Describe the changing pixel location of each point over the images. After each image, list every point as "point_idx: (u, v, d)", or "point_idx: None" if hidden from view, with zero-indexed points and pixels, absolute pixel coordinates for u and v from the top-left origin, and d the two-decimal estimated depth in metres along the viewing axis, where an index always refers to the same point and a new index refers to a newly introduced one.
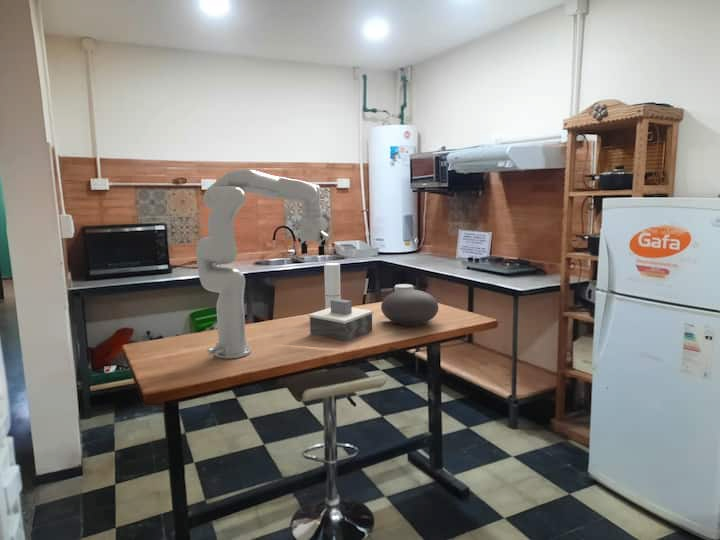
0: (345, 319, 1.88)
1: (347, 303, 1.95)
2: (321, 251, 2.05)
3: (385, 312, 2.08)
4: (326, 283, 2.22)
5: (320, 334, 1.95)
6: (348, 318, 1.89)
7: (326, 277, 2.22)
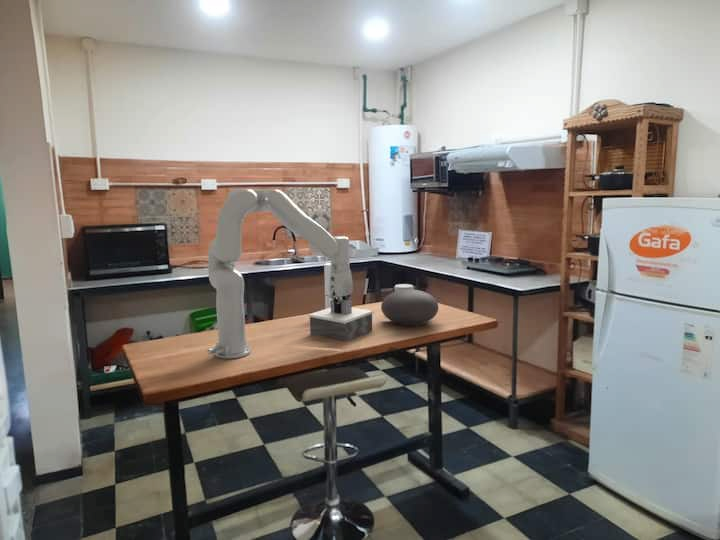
0: (345, 319, 1.88)
1: (347, 303, 1.95)
2: None
3: (385, 312, 2.08)
4: (326, 283, 2.22)
5: (320, 334, 1.95)
6: (348, 318, 1.89)
7: (326, 277, 2.22)
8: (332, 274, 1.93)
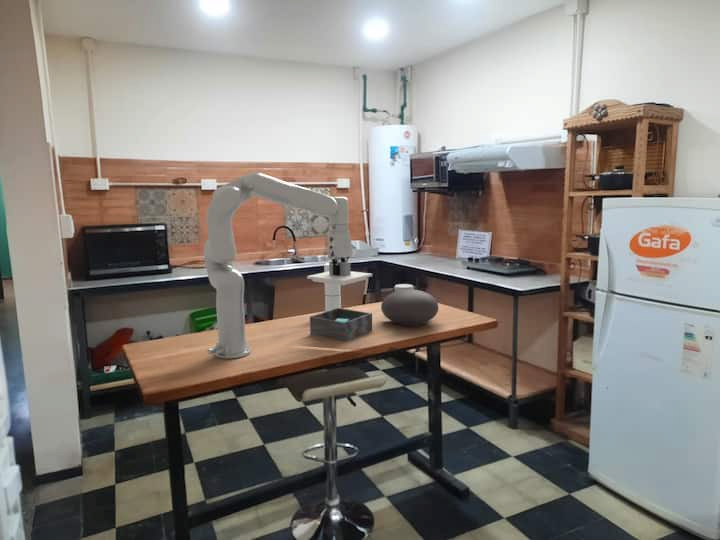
0: (344, 279, 1.85)
1: (346, 264, 1.92)
2: None
3: (385, 312, 2.08)
4: (326, 283, 2.22)
5: (320, 334, 1.95)
6: (347, 278, 1.87)
7: None
8: (331, 234, 1.90)
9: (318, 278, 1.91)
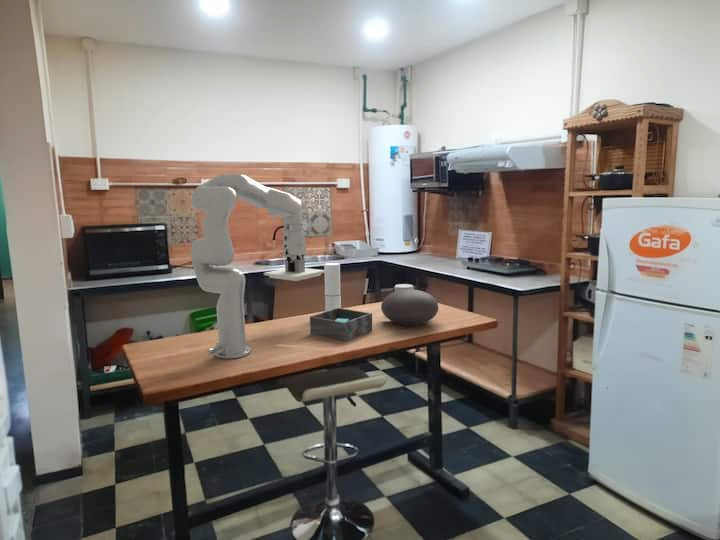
0: (296, 275, 1.99)
1: (300, 262, 2.06)
2: None
3: (385, 312, 2.08)
4: (326, 283, 2.22)
5: (320, 334, 1.95)
6: (299, 275, 2.00)
7: (326, 277, 2.22)
8: (285, 234, 2.03)
9: (273, 274, 2.04)
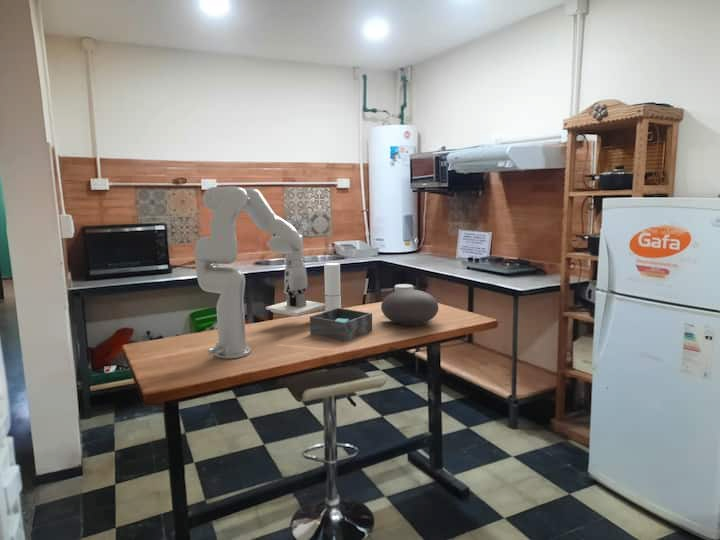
0: (298, 311, 2.01)
1: (301, 296, 2.08)
2: None
3: (385, 312, 2.08)
4: (326, 283, 2.22)
5: (320, 334, 1.95)
6: (301, 310, 2.03)
7: (326, 277, 2.22)
8: (286, 269, 2.06)
9: (275, 309, 2.07)
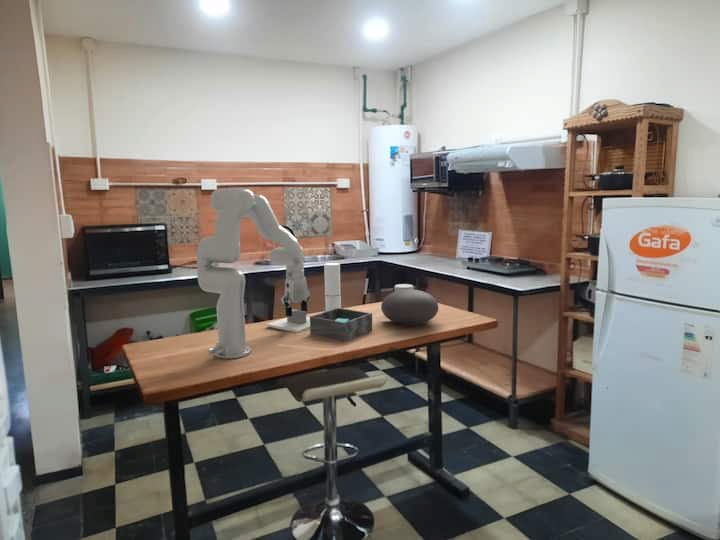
0: (298, 328, 2.02)
1: (301, 313, 2.09)
2: None
3: (385, 312, 2.08)
4: (326, 283, 2.22)
5: (320, 334, 1.95)
6: (301, 327, 2.04)
7: (326, 277, 2.22)
8: (287, 281, 2.07)
9: (276, 326, 2.08)
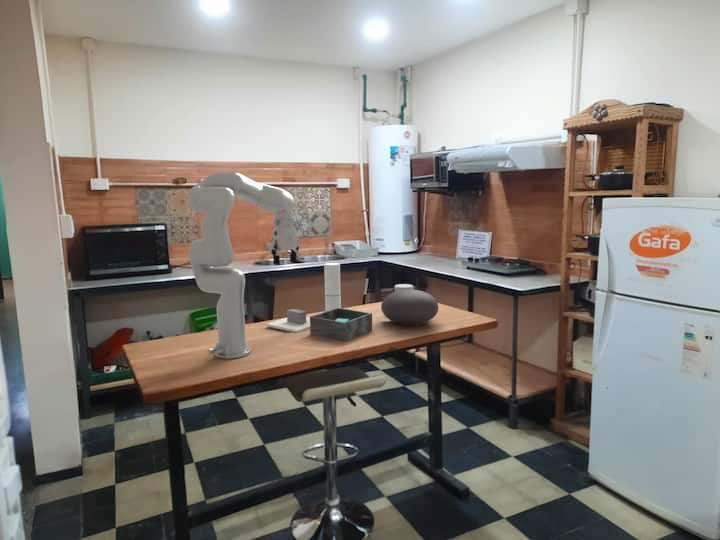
0: (298, 329, 2.02)
1: (301, 313, 2.09)
2: (295, 258, 2.12)
3: (385, 312, 2.08)
4: (326, 283, 2.22)
5: (320, 334, 1.95)
6: (301, 328, 2.04)
7: (326, 277, 2.22)
8: (275, 229, 2.03)
9: (276, 326, 2.08)
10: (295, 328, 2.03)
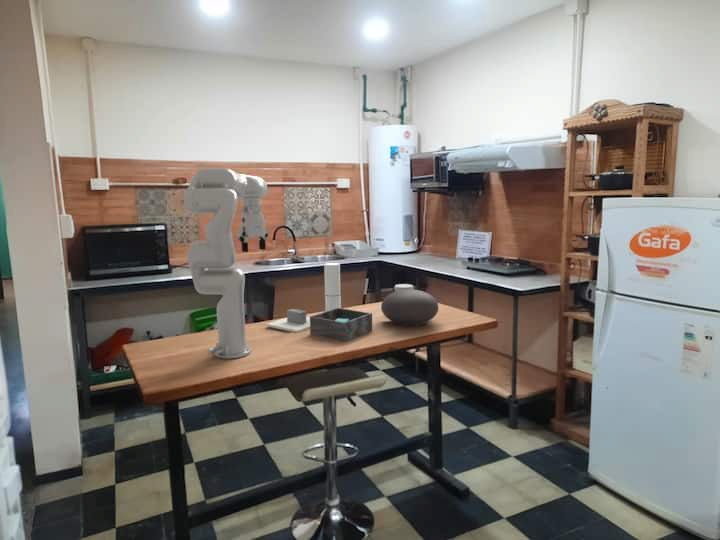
0: (298, 329, 2.02)
1: (301, 313, 2.09)
2: (264, 245, 2.12)
3: (385, 312, 2.08)
4: (326, 283, 2.22)
5: (320, 334, 1.95)
6: (301, 328, 2.04)
7: (326, 277, 2.22)
8: (243, 216, 2.02)
9: (276, 326, 2.07)
10: (295, 328, 2.03)
